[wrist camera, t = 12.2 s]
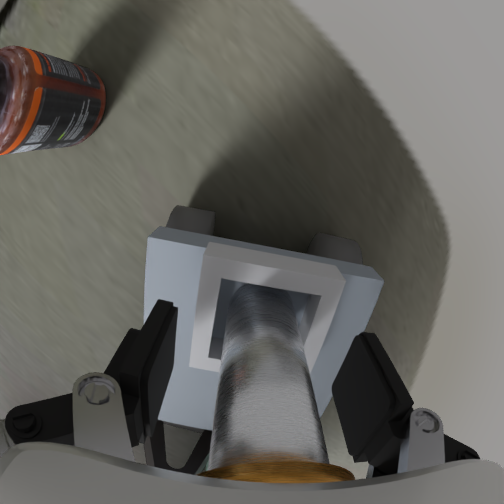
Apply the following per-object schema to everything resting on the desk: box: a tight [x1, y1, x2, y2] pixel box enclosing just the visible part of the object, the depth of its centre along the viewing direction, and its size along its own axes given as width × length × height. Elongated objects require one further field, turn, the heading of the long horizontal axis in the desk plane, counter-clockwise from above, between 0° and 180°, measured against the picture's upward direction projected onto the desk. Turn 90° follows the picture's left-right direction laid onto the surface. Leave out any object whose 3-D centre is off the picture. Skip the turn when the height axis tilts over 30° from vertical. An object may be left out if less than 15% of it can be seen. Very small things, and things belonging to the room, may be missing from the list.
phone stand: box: [144, 420, 212, 475], centre depth 20 cm, size 9×6×12 cm, turn 73°
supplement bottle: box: [0, 46, 106, 155], centre depth 11 cm, size 6×6×11 cm
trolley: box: [144, 205, 384, 430], centre depth 18 cm, size 11×15×9 cm
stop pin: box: [197, 283, 355, 483], centre depth 9 cm, size 4×4×10 cm
